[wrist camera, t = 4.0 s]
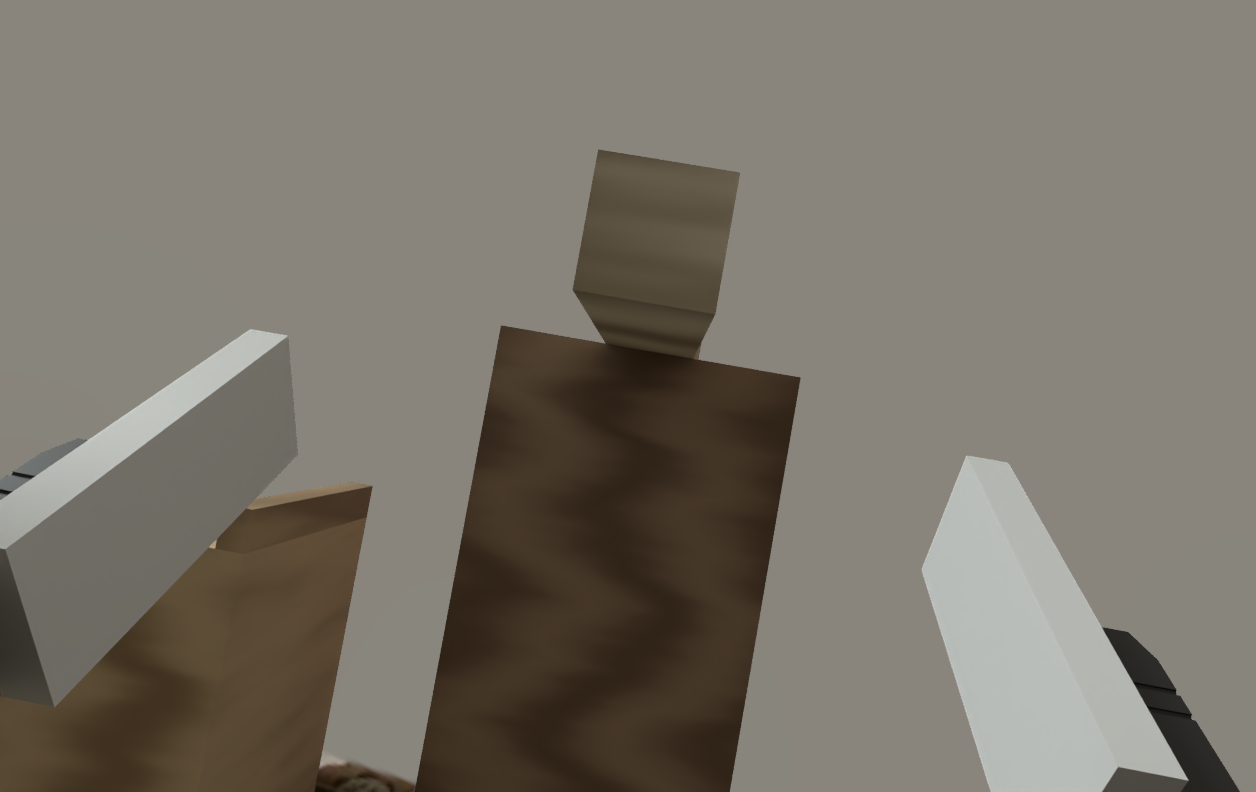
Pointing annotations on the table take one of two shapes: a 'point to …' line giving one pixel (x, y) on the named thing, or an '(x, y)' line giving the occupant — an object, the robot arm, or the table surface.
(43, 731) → the oak pedestal
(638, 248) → the ash rail
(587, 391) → the walnut stand
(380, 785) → the table surface
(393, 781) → the table surface
